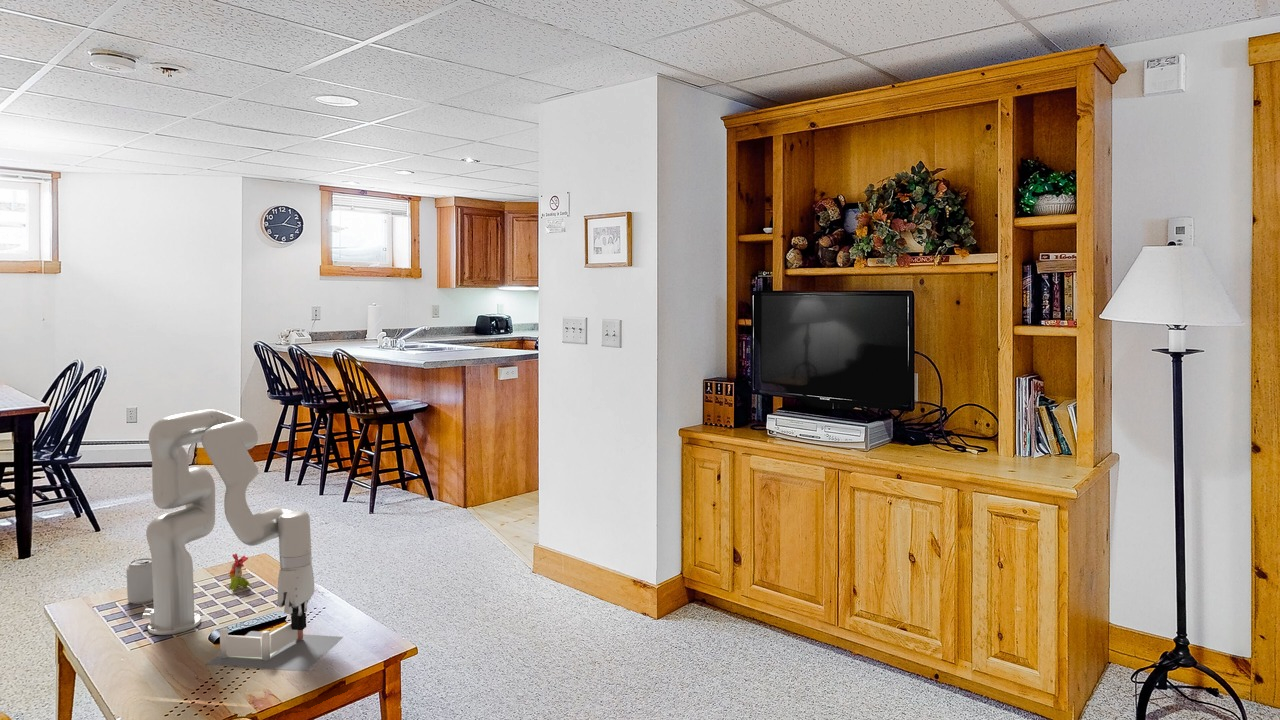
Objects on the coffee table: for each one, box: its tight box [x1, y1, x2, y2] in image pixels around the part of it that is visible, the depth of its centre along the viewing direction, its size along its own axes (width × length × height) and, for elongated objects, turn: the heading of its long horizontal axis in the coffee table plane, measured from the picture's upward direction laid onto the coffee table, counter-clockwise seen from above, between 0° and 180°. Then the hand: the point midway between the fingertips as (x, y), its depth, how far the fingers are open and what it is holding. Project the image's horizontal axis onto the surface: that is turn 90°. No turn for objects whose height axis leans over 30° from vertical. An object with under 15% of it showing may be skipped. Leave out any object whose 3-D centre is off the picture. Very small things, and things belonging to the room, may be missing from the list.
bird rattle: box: [228, 553, 252, 592], centre depth 242 cm, size 6×11×9 cm
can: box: [126, 557, 153, 605], centre depth 231 cm, size 8×8×12 cm
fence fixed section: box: [219, 627, 271, 661], centre depth 195 cm, size 13×2×7 cm, turn 85°
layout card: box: [205, 630, 344, 672], centre depth 200 cm, size 26×19×1 cm
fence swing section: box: [270, 621, 304, 654], centre depth 201 cm, size 11×2×6 cm, turn 161°
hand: (299, 628), depth 203 cm, fingers closed
